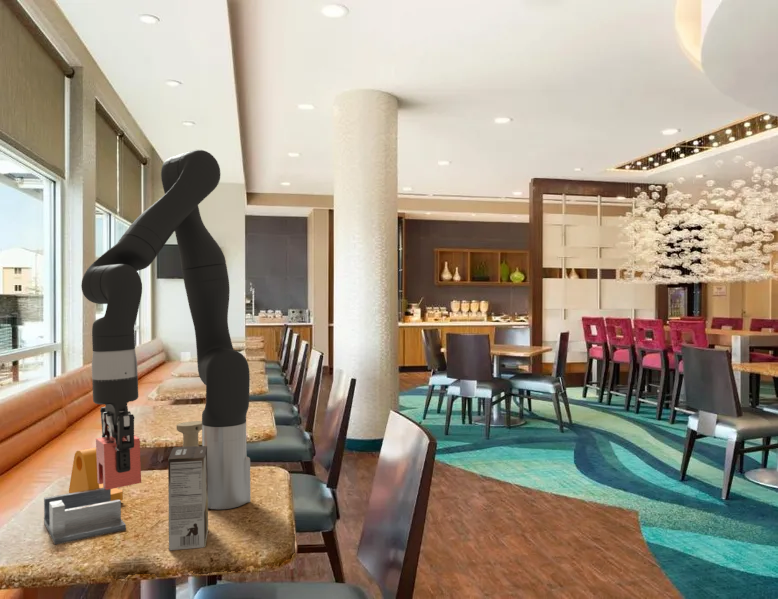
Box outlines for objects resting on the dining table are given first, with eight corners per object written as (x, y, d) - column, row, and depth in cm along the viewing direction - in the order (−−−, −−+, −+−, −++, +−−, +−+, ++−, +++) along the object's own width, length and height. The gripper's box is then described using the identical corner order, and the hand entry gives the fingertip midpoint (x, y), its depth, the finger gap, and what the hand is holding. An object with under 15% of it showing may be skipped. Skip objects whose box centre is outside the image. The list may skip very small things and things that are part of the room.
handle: (173, 489, 144) (172, 424, 144) (196, 482, 149) (195, 420, 149) (185, 492, 141) (184, 426, 141) (209, 486, 146) (208, 422, 146)
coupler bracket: (109, 510, 129) (109, 481, 129) (125, 529, 118) (125, 498, 118) (44, 522, 122) (43, 492, 122) (54, 544, 111) (54, 511, 111)
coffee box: (173, 532, 116) (172, 446, 116) (209, 529, 118) (208, 444, 118) (167, 551, 107) (166, 458, 107) (206, 547, 109) (205, 455, 109)
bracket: (124, 503, 134) (124, 448, 134) (90, 512, 128) (90, 454, 128) (102, 494, 141) (101, 441, 141) (69, 501, 135) (68, 447, 135)
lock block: (132, 475, 116) (130, 433, 116) (141, 482, 111) (139, 438, 111) (97, 482, 112) (95, 438, 112) (105, 490, 107) (103, 444, 107)
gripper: (148, 376, 108) (151, 472, 108) (126, 370, 120) (129, 456, 120) (102, 381, 104) (106, 481, 104) (83, 374, 115) (87, 464, 115)
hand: (118, 467), depth 112 cm, fingers closed on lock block, 6 cm apart
